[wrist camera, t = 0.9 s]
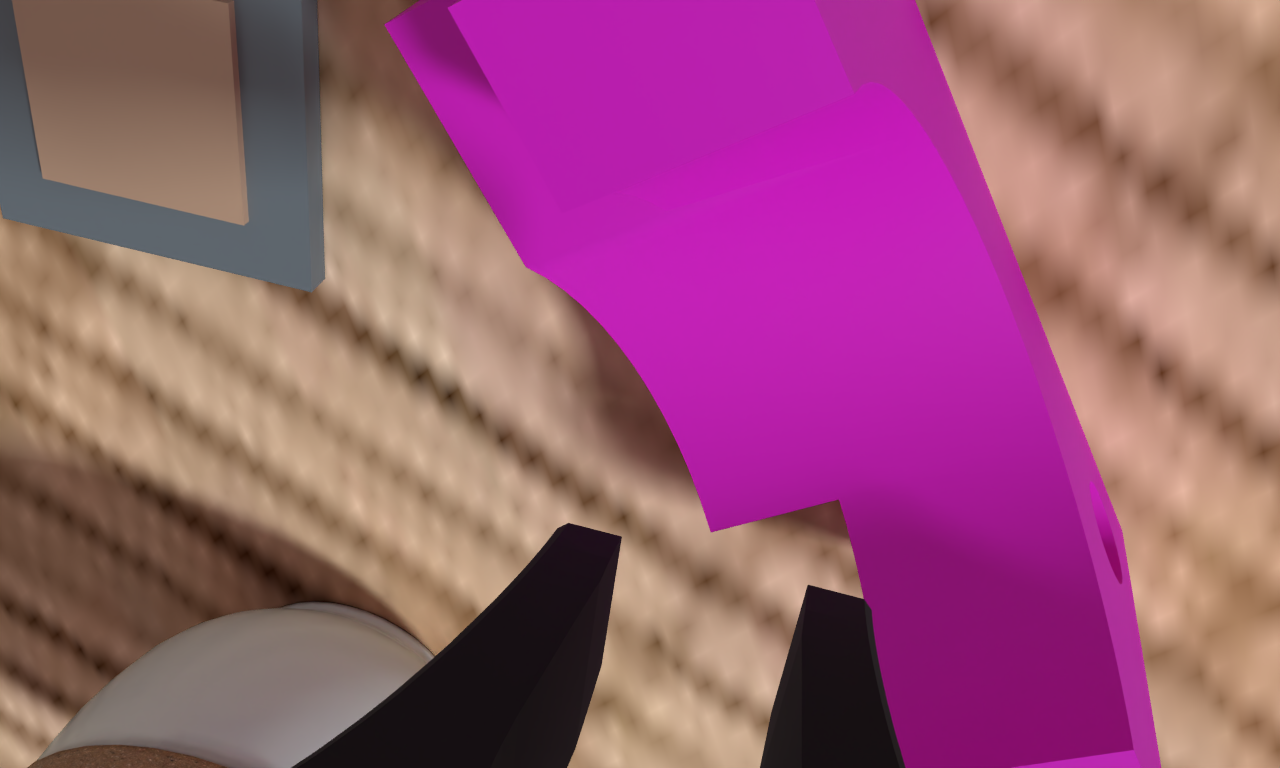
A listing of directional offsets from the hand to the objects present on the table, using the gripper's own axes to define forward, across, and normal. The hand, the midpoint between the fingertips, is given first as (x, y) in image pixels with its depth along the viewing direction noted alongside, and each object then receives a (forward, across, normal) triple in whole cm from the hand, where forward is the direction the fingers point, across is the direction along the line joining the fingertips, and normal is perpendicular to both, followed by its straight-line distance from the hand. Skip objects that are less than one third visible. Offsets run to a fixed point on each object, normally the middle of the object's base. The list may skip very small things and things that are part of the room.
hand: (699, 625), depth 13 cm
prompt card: (+10, +13, 0) cm, 17 cm away
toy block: (+11, 0, +1) cm, 11 cm away
